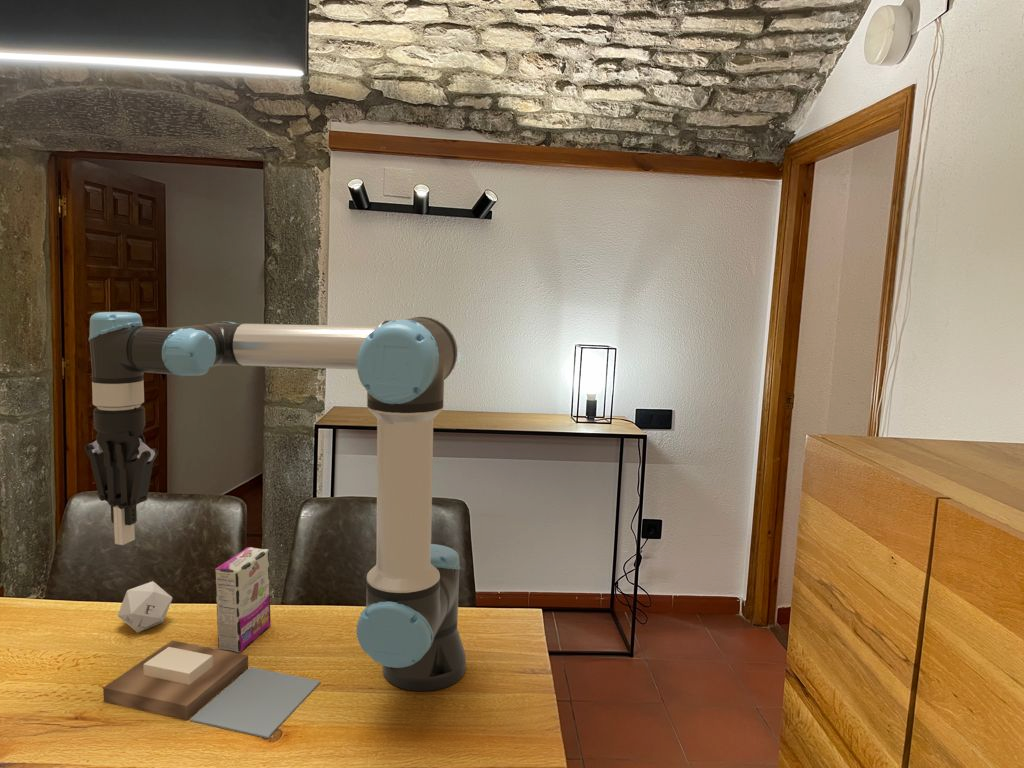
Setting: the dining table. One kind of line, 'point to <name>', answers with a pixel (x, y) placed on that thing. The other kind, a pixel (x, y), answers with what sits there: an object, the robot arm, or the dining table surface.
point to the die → (144, 606)
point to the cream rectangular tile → (178, 665)
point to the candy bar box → (242, 599)
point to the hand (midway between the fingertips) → (124, 541)
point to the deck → (175, 684)
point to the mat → (256, 702)
